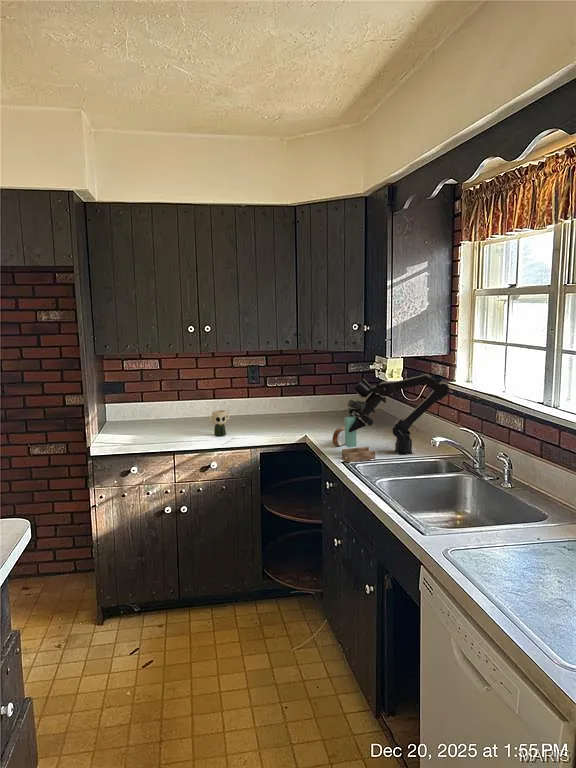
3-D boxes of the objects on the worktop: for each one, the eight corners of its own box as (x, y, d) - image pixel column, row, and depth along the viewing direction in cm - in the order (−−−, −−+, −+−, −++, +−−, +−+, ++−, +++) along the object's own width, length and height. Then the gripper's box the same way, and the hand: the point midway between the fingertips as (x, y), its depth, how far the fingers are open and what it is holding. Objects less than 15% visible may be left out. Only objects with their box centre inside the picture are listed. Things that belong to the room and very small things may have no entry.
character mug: (211, 438, 296) (210, 413, 295) (208, 435, 303) (207, 411, 301) (232, 435, 301) (231, 411, 299) (228, 432, 307) (227, 409, 305)
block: (353, 444, 260) (352, 416, 258) (356, 446, 257) (356, 418, 255) (344, 445, 259) (344, 417, 257) (348, 447, 256) (347, 418, 254)
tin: (349, 440, 283) (349, 424, 281) (354, 441, 281) (354, 424, 279) (332, 447, 271) (331, 430, 270) (337, 448, 269) (337, 430, 268)
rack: (367, 455, 255) (367, 446, 255) (374, 460, 247) (374, 451, 247) (342, 458, 252) (342, 449, 252) (348, 463, 244) (348, 454, 244)
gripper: (350, 390, 264) (328, 415, 263) (366, 396, 246) (342, 423, 245) (366, 405, 267) (344, 430, 266) (383, 412, 250) (359, 439, 248)
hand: (347, 430), depth 257 cm, fingers closed on block, 4 cm apart
